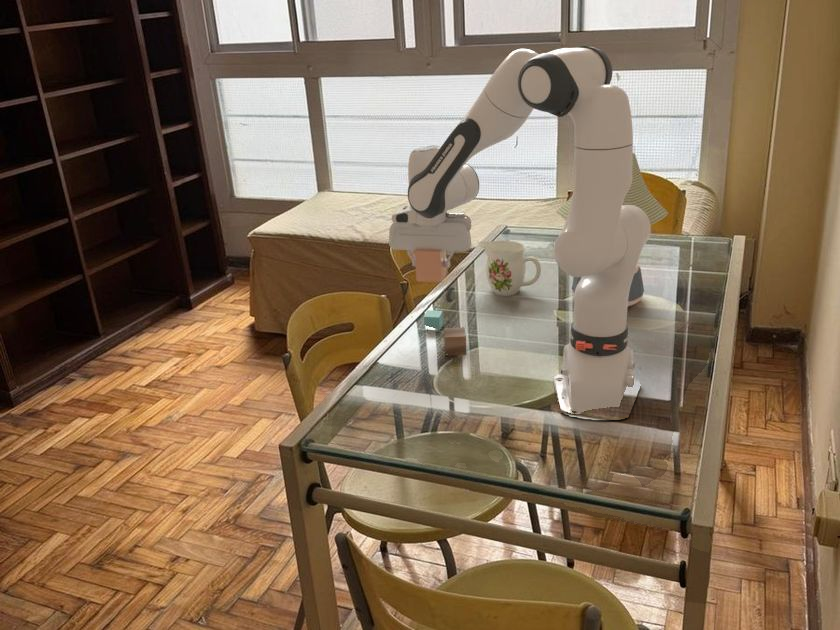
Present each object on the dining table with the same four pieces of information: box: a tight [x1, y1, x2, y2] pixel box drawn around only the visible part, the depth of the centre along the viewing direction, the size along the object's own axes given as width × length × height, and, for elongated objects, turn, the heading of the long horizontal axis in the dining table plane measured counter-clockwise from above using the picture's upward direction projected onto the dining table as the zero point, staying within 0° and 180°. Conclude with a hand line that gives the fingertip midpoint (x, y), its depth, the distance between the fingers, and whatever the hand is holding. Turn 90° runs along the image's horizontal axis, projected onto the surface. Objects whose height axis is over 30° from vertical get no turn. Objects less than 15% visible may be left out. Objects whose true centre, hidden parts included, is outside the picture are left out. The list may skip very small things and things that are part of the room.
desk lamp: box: [555, 152, 669, 307], centre depth 209 cm, size 26×28×42 cm
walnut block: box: [443, 326, 467, 356], centre depth 194 cm, size 5×5×5 cm
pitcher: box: [477, 240, 542, 297], centre depth 224 cm, size 11×18×14 cm, turn 67°
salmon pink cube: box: [414, 249, 448, 283], centre depth 200 cm, size 6×6×8 cm
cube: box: [423, 309, 444, 331], centre depth 206 cm, size 4×4×4 cm
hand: (431, 266), depth 200 cm, fingers closed on salmon pink cube, 6 cm apart
